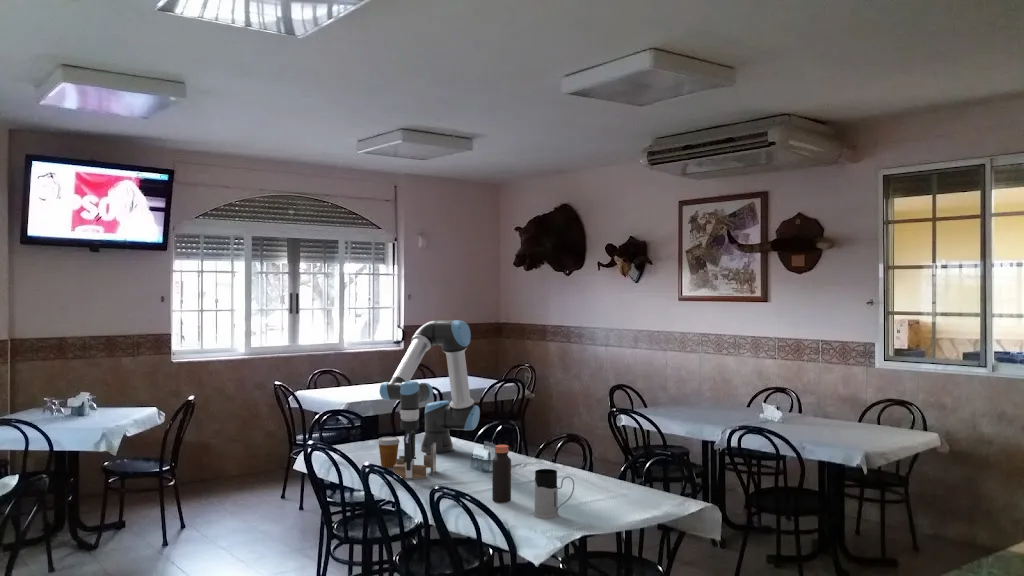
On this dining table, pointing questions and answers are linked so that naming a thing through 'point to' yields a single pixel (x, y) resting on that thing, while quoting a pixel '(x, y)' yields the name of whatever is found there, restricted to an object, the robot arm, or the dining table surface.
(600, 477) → the dining table surface
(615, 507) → the dining table surface
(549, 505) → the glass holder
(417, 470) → the rail
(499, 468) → the bottle
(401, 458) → the saddle
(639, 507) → the dining table surface
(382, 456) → the disposable coffee cup
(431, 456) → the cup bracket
